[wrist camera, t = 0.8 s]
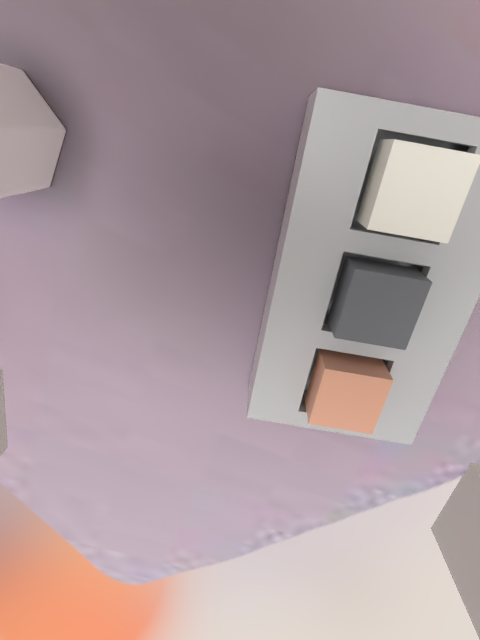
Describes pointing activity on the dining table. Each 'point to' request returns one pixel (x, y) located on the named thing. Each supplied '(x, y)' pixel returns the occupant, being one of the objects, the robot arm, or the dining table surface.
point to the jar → (26, 135)
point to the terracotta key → (347, 391)
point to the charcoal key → (377, 302)
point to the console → (356, 241)
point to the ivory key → (416, 189)
